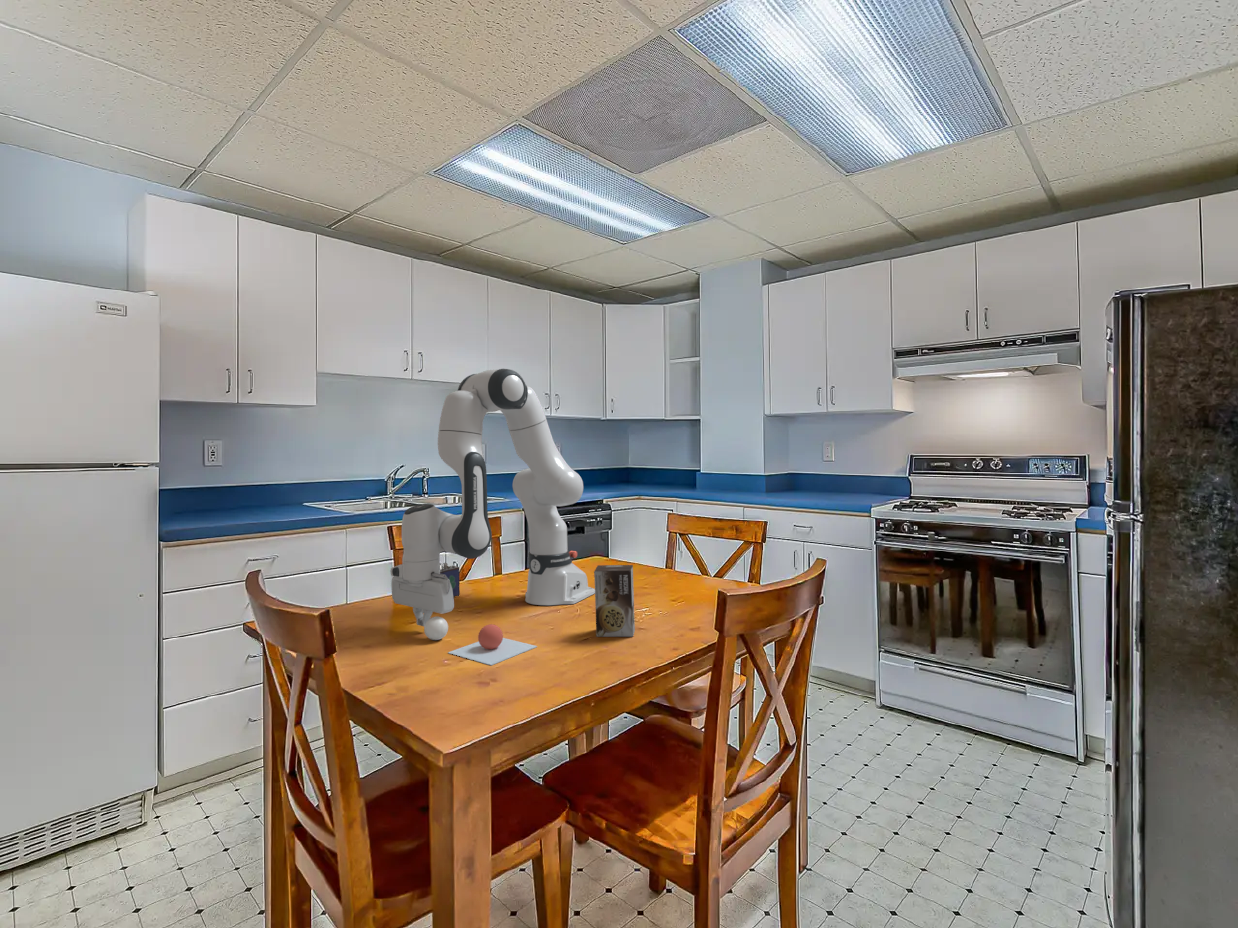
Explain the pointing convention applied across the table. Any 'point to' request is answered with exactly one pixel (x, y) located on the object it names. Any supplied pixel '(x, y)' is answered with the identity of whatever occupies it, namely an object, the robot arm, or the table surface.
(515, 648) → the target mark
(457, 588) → the flask
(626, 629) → the coffee box
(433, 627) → the cue ball
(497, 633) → the object ball
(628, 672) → the table surface
